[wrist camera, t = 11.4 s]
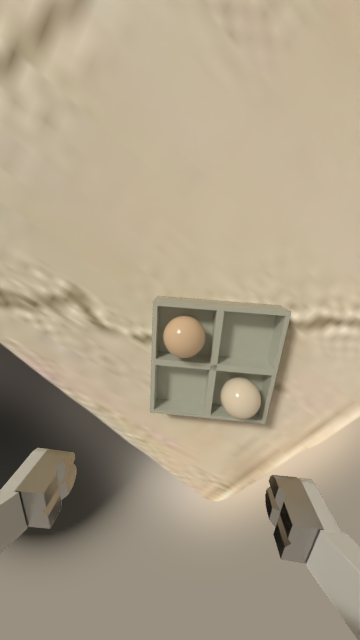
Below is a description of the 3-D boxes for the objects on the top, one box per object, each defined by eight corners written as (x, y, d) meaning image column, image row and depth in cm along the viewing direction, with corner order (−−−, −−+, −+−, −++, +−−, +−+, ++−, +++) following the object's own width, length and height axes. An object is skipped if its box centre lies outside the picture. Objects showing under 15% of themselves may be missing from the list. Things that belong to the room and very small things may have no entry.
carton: (280, 305, 25) (291, 311, 22) (258, 407, 29) (265, 424, 26) (157, 296, 25) (153, 301, 23) (154, 397, 30) (150, 412, 27)
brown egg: (206, 312, 25) (208, 325, 20) (202, 348, 26) (203, 368, 22) (167, 309, 25) (160, 321, 21) (165, 345, 27) (158, 363, 22)
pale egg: (257, 371, 27) (270, 395, 22) (251, 402, 28) (262, 430, 24) (220, 368, 27) (226, 391, 22) (216, 399, 28) (220, 426, 24)
